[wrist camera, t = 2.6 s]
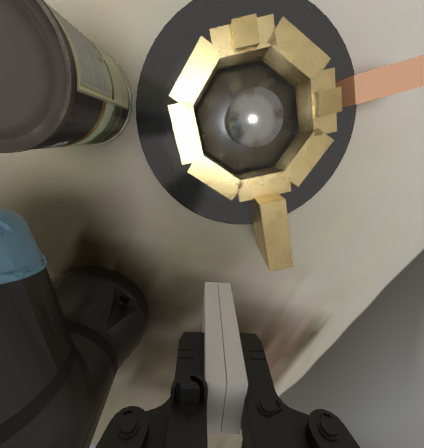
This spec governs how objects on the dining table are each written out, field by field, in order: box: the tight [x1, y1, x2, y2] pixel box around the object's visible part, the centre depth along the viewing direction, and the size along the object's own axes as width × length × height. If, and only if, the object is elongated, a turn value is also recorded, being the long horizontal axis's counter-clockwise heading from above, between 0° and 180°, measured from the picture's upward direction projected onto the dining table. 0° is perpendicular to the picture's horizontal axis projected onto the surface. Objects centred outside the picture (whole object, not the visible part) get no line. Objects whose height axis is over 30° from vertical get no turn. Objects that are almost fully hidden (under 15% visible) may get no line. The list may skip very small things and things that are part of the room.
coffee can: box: [0, 0, 132, 153], centre depth 21 cm, size 10×10×14 cm
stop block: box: [335, 55, 424, 107], centre depth 25 cm, size 6×2×7 cm, turn 105°
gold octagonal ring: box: [168, 13, 342, 271], centre depth 25 cm, size 22×15×7 cm
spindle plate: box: [136, 0, 356, 224], centre depth 26 cm, size 24×24×7 cm
